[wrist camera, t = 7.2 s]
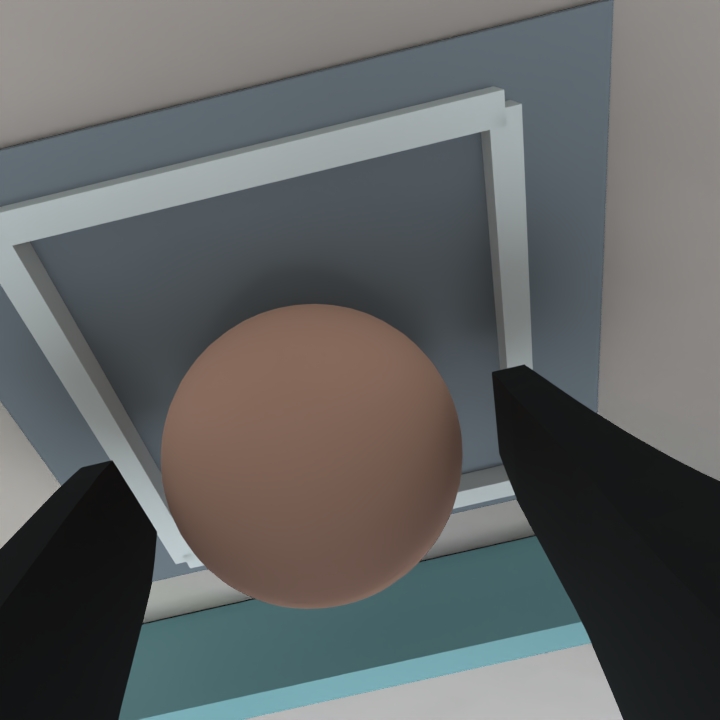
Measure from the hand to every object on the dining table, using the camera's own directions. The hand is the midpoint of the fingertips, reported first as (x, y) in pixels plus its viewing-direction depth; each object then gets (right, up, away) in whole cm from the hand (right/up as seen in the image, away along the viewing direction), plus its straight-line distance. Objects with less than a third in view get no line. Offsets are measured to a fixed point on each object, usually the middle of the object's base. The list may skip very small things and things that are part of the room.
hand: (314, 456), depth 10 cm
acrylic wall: (+2, -5, +8) cm, 10 cm away
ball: (0, +2, +3) cm, 3 cm away
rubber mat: (0, +2, +3) cm, 3 cm away
